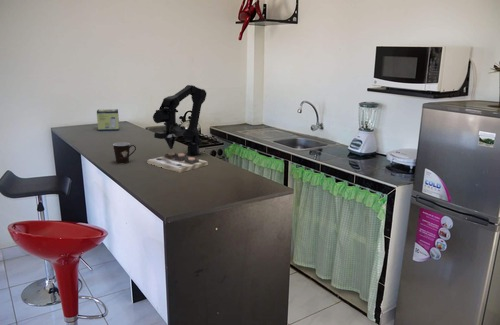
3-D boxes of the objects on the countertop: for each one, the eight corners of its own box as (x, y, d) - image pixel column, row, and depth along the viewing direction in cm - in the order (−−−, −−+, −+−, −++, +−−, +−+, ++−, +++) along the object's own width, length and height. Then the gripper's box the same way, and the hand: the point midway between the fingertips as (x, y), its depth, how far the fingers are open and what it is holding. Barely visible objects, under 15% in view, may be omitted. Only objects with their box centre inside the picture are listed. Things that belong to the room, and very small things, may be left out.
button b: (191, 160, 206) (191, 156, 206) (196, 161, 204) (196, 158, 204) (186, 161, 204) (186, 158, 203) (191, 162, 202) (191, 159, 201)
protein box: (98, 129, 302) (97, 109, 298) (119, 128, 306) (118, 109, 302) (97, 131, 292) (96, 111, 288) (119, 130, 297) (118, 110, 293)
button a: (171, 155, 216) (171, 152, 215) (176, 156, 214) (176, 153, 213) (166, 156, 213) (166, 153, 212) (171, 157, 211) (171, 154, 210)
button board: (175, 157, 222) (174, 150, 221) (207, 165, 207) (207, 158, 206) (147, 163, 207) (146, 156, 206) (180, 172, 192) (179, 165, 191)
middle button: (181, 156, 211) (181, 152, 210) (186, 157, 209) (186, 153, 208) (176, 157, 208) (176, 153, 207) (181, 158, 206) (181, 154, 205)
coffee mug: (113, 164, 203) (112, 146, 200) (114, 160, 211) (113, 142, 208) (136, 163, 206) (135, 145, 203) (136, 159, 214) (135, 142, 211)
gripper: (167, 124, 196) (167, 154, 200) (193, 121, 211) (193, 148, 214) (153, 122, 203) (154, 150, 207) (179, 118, 217) (179, 145, 221)
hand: (171, 148), depth 212 cm, fingers closed
